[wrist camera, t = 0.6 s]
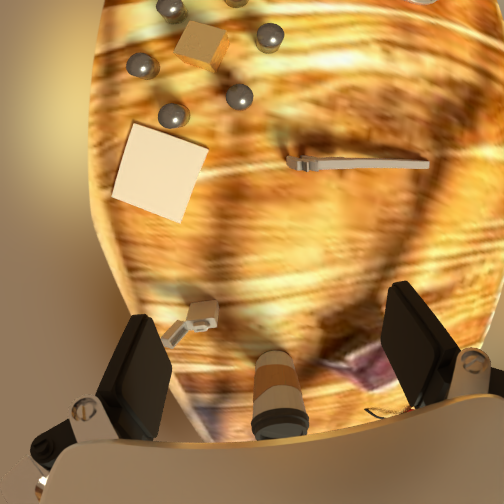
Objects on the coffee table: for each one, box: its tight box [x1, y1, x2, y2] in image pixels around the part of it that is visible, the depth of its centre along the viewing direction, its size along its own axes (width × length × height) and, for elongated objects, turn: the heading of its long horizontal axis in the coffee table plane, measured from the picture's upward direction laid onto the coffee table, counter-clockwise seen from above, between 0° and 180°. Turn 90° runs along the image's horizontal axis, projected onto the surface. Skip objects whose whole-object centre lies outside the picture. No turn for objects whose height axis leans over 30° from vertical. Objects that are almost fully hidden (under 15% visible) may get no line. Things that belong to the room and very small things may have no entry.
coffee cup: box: [251, 350, 309, 441], centre depth 41 cm, size 8×8×15 cm
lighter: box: [161, 300, 219, 349], centre depth 39 cm, size 7×2×8 cm, turn 100°
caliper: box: [286, 155, 429, 172], centre depth 31 cm, size 20×1×6 cm, turn 93°
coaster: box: [112, 123, 209, 223], centre depth 34 cm, size 10×10×1 cm
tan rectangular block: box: [173, 20, 230, 73], centre depth 25 cm, size 4×4×6 cm
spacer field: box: [126, 0, 284, 129], centre depth 26 cm, size 20×15×4 cm
